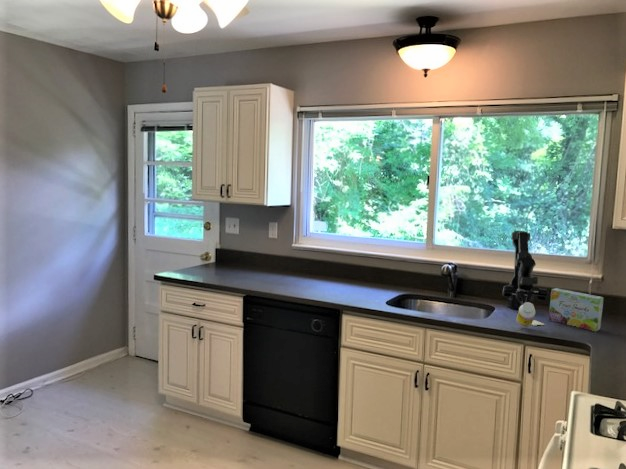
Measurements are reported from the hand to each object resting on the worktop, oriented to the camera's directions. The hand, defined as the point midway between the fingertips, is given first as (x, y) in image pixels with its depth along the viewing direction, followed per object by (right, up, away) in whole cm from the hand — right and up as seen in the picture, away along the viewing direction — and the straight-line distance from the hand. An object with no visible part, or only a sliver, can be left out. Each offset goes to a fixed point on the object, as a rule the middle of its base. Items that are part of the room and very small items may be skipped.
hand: (525, 309), depth 239 cm
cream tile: (+6, -7, +6) cm, 12 cm away
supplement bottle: (0, -6, +1) cm, 6 cm away
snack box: (+25, -9, +7) cm, 27 cm away
